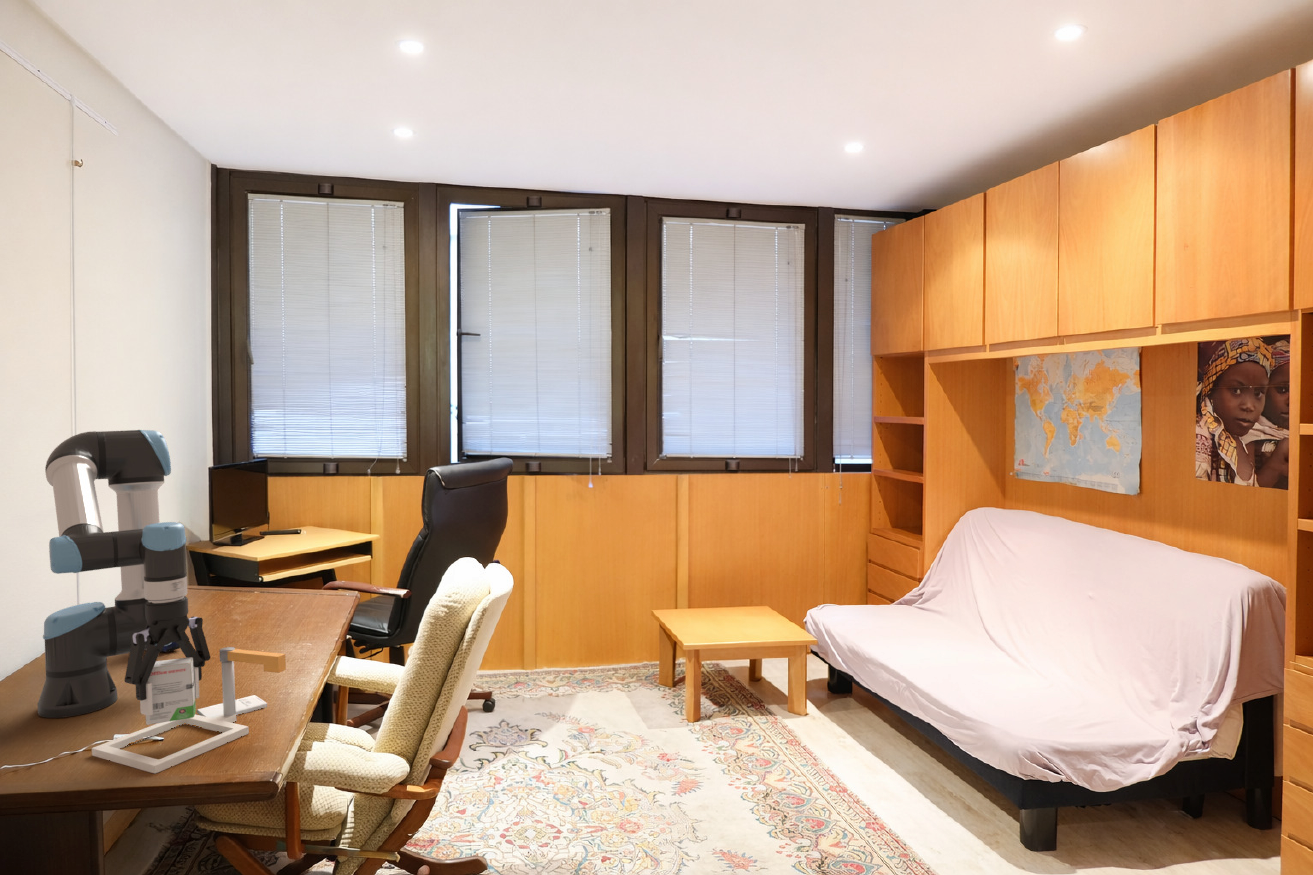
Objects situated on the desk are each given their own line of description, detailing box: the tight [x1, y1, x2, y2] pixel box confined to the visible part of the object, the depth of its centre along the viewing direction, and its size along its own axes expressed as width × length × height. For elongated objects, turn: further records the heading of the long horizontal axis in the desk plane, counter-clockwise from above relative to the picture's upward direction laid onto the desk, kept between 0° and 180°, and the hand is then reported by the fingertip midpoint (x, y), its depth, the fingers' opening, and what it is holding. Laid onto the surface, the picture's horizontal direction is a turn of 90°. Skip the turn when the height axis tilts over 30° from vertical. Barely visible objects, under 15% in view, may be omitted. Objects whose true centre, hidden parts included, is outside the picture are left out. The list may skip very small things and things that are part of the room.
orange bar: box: [218, 646, 287, 674], centre depth 173 cm, size 3×16×4 cm, turn 72°
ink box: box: [145, 657, 197, 726], centre depth 163 cm, size 9×5×12 cm, turn 114°
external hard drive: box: [196, 694, 268, 718], centre depth 182 cm, size 2×8×12 cm
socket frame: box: [91, 661, 250, 775], centre depth 165 cm, size 20×24×14 cm
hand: (170, 705), depth 163 cm, fingers closed on ink box, 9 cm apart
